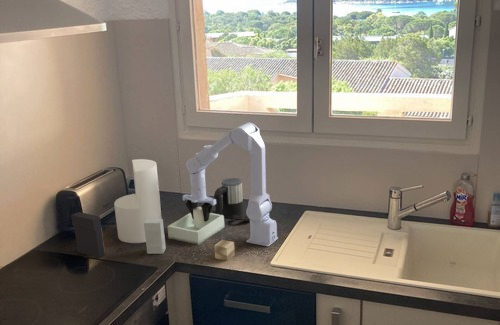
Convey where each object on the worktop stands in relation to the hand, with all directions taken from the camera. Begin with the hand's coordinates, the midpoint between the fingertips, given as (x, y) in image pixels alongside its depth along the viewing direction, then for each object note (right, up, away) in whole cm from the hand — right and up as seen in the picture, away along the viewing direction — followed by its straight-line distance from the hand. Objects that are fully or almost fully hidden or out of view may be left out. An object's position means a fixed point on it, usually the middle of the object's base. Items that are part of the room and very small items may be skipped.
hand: (200, 219), depth 212 cm
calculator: (-38, -11, -15) cm, 43 cm away
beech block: (+11, -11, -22) cm, 27 cm away
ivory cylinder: (0, -2, 0) cm, 3 cm away
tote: (-1, -5, -1) cm, 5 cm away
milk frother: (+14, -1, +12) cm, 19 cm away
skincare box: (-15, -10, -16) cm, 24 cm away
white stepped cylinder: (-24, -6, 0) cm, 24 cm away
